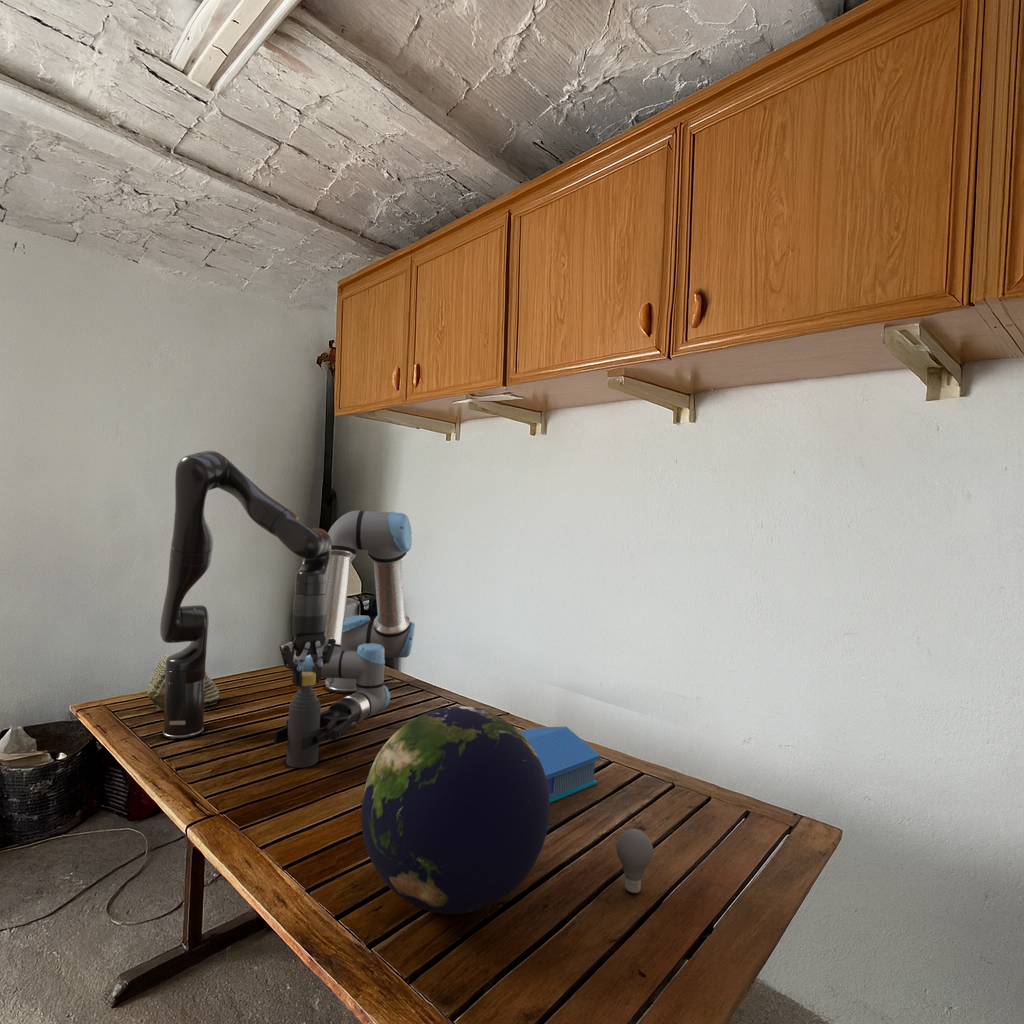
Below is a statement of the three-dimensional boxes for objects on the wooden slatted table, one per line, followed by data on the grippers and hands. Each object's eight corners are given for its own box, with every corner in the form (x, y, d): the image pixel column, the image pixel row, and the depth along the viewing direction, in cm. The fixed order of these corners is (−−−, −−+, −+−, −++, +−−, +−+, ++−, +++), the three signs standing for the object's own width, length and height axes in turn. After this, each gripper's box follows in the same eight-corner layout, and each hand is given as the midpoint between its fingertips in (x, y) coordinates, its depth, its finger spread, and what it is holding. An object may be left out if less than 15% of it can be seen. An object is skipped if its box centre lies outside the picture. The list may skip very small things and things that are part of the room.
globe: (316, 925, 94) (323, 724, 93) (419, 831, 121) (425, 675, 121) (501, 992, 83) (511, 764, 82) (568, 871, 110) (576, 700, 110)
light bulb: (610, 879, 108) (613, 822, 108) (644, 879, 109) (647, 822, 109) (619, 902, 102) (622, 840, 102) (655, 901, 103) (658, 840, 103)
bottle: (282, 767, 147) (287, 682, 147) (290, 755, 154) (294, 674, 154) (314, 767, 147) (318, 682, 147) (320, 755, 155) (324, 674, 155)
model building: (474, 846, 117) (476, 792, 117) (402, 796, 135) (404, 749, 135) (608, 788, 143) (610, 744, 143) (533, 753, 161) (535, 714, 161)
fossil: (144, 707, 182) (145, 655, 182) (212, 696, 194) (213, 647, 194) (151, 716, 175) (153, 662, 175) (221, 703, 188) (223, 653, 188)
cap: (316, 685, 150) (316, 675, 150) (297, 686, 148) (297, 676, 148) (315, 680, 154) (315, 671, 154) (296, 681, 152) (297, 672, 152)
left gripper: (289, 617, 143) (286, 693, 143) (344, 611, 153) (341, 682, 153) (273, 612, 148) (270, 685, 148) (327, 607, 158) (325, 675, 159)
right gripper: (380, 732, 164) (324, 765, 142) (316, 719, 171) (254, 749, 150) (381, 703, 164) (325, 732, 142) (317, 691, 171) (255, 717, 149)
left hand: (306, 683), depth 151 cm, fingers closed on cap, 4 cm apart
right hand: (289, 740), depth 146 cm, fingers closed on bottle, 7 cm apart
